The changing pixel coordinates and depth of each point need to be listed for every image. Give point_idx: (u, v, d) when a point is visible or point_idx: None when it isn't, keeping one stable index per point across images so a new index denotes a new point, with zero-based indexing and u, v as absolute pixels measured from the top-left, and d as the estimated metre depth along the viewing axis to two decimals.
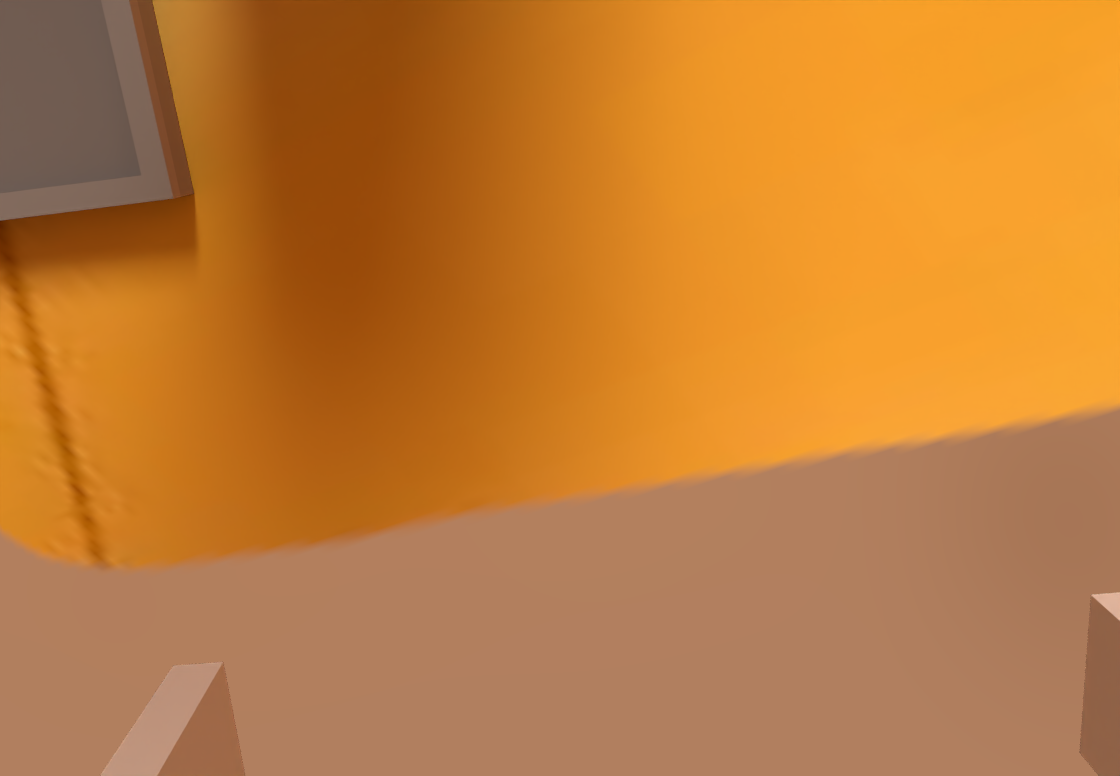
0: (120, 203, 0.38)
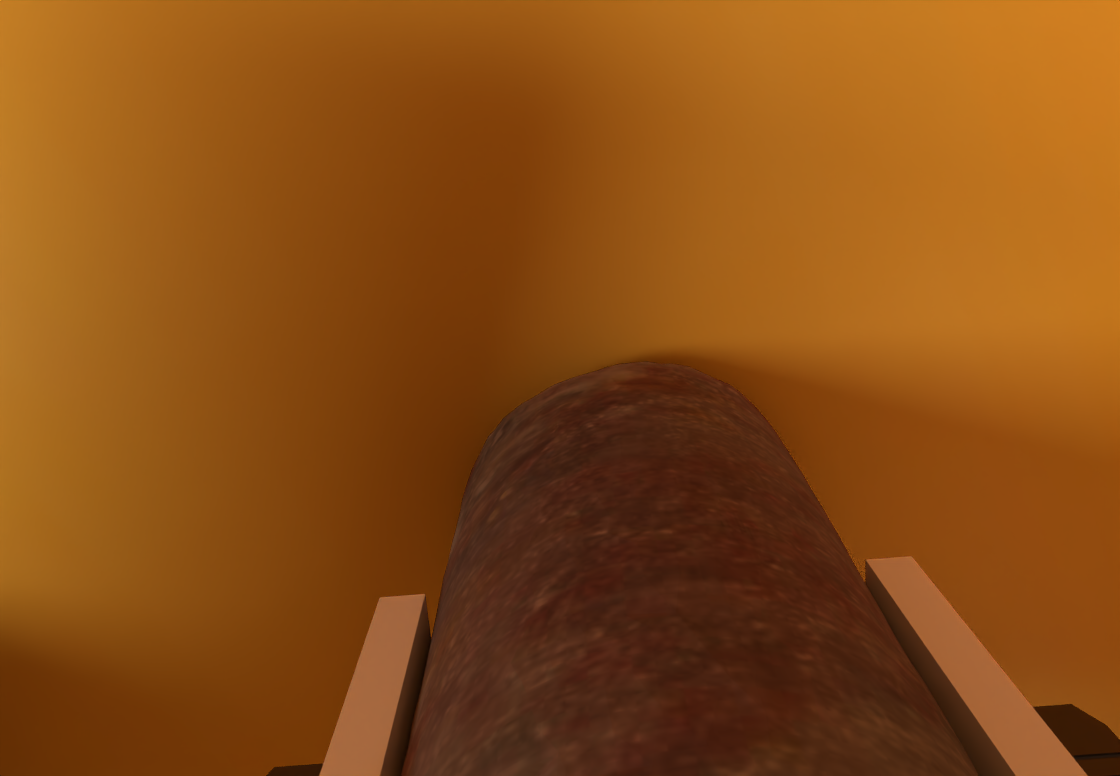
0: None
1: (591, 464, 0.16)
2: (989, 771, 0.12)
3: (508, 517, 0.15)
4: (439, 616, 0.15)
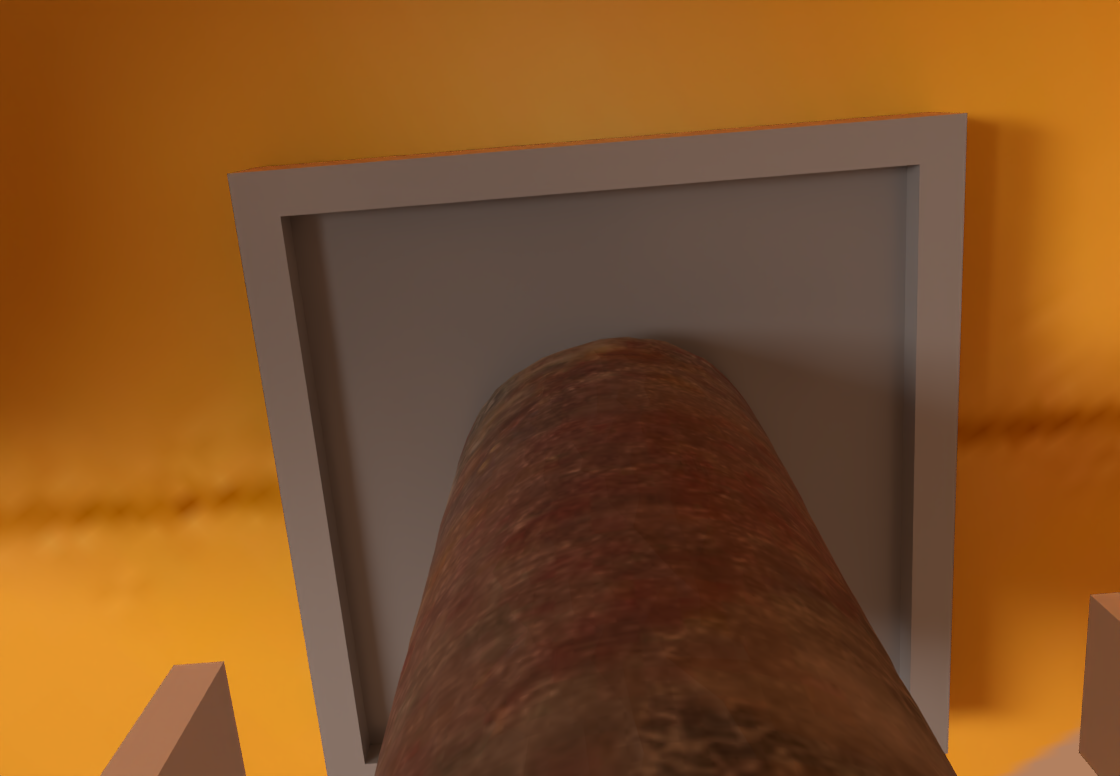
0: (961, 208, 0.22)
1: (570, 419, 0.17)
2: None
3: (496, 465, 0.17)
4: (435, 554, 0.17)
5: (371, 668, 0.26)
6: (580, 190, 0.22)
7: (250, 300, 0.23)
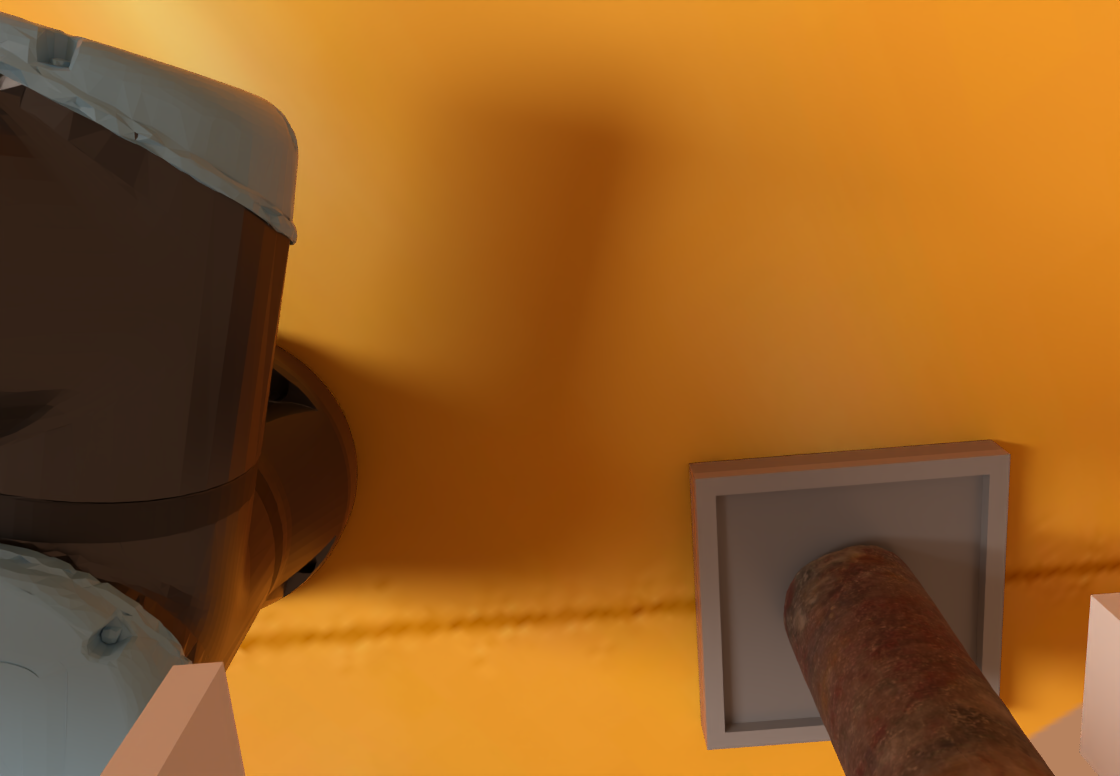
0: (1007, 491, 0.51)
1: (866, 599, 0.47)
2: None
3: (840, 617, 0.46)
4: (817, 650, 0.47)
5: (727, 687, 0.55)
6: (844, 485, 0.51)
7: (698, 529, 0.52)
